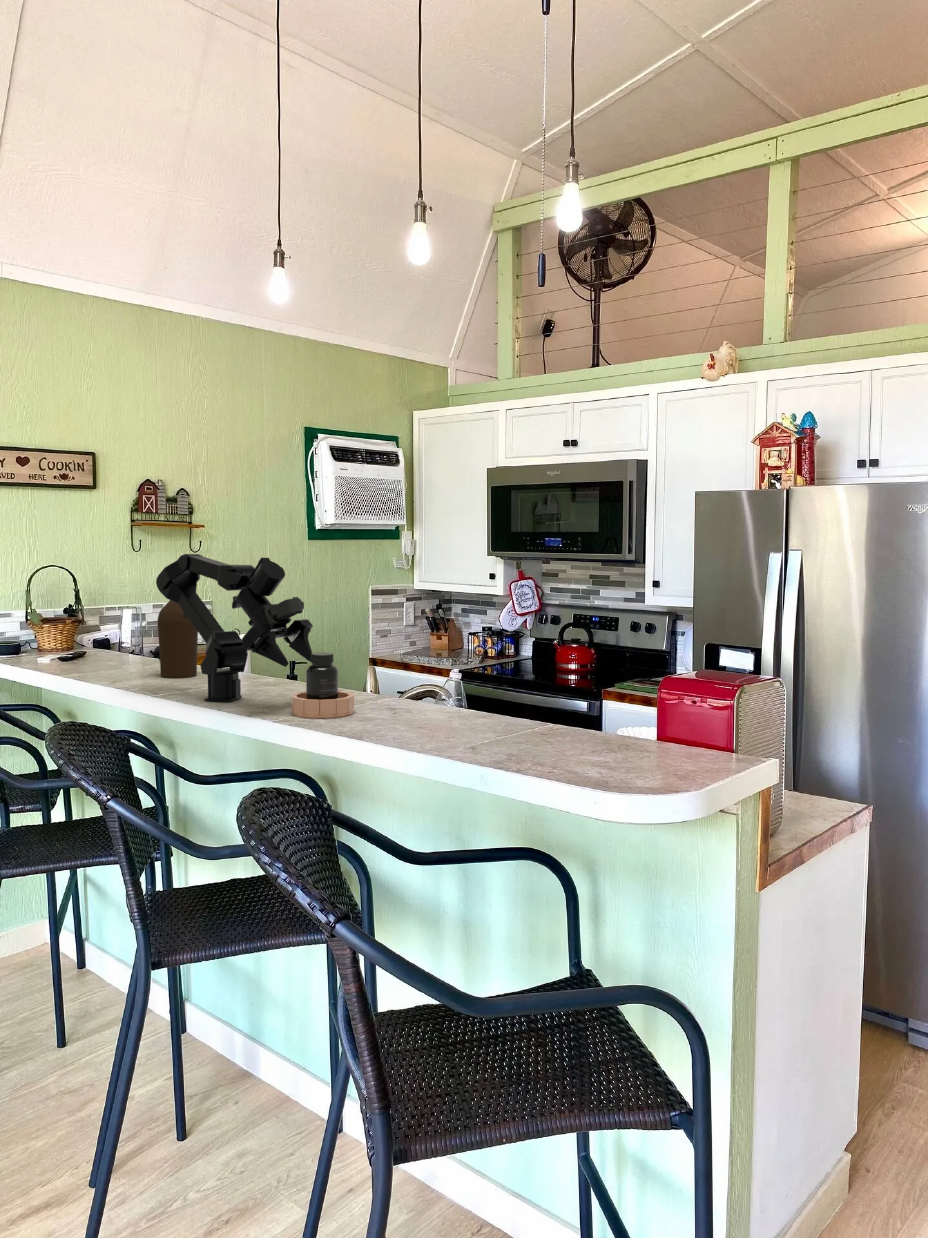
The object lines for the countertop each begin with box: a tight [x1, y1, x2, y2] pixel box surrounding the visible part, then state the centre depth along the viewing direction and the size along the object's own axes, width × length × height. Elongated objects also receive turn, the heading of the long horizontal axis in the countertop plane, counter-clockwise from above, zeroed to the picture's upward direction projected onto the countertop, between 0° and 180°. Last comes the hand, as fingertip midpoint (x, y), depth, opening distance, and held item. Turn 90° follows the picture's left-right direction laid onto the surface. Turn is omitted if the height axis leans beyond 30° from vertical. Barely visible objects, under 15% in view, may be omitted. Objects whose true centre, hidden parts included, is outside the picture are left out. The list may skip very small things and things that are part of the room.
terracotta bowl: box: [290, 690, 355, 719], centre depth 194 cm, size 13×13×4 cm
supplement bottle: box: [305, 651, 339, 700], centre depth 194 cm, size 7×7×12 cm
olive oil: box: [157, 600, 199, 679], centre depth 245 cm, size 11×11×25 cm
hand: (300, 663), depth 196 cm, fingers open, 9 cm apart
